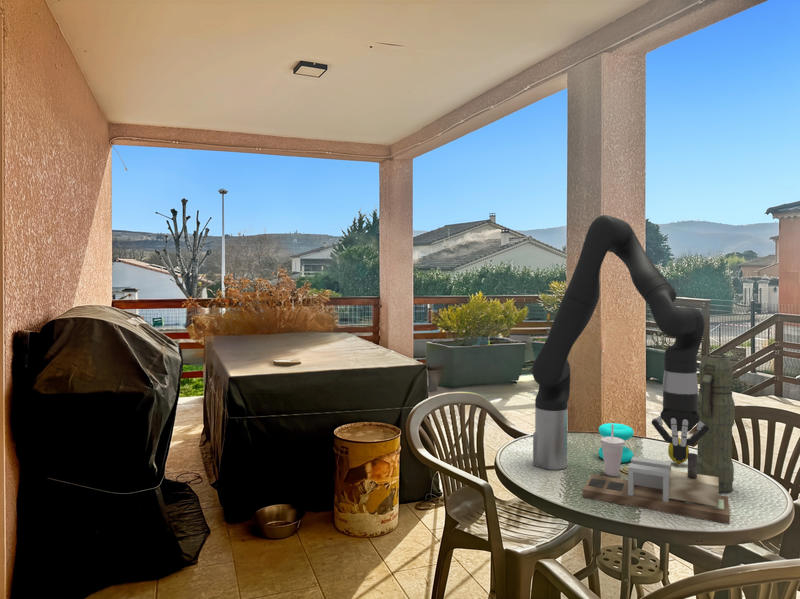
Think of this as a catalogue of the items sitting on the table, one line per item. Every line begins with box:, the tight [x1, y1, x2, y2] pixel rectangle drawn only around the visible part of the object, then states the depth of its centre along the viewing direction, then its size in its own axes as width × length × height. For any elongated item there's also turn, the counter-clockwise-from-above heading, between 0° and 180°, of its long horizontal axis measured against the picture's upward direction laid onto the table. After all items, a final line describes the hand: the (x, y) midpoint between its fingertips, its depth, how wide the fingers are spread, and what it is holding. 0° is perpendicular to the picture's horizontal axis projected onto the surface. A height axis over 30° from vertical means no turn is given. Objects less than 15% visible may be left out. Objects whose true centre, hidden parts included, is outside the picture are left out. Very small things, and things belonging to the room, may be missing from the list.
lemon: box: [667, 437, 690, 465], centre depth 163 cm, size 6×6×8 cm
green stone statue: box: [696, 353, 736, 494], centre depth 145 cm, size 9×12×35 cm
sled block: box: [669, 452, 720, 507], centre depth 133 cm, size 11×6×11 cm, turn 61°
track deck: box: [582, 473, 731, 525], centre depth 137 cm, size 32×12×2 cm, turn 61°
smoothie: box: [600, 424, 625, 477], centre depth 156 cm, size 6×6×14 cm
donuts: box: [598, 422, 635, 464], centre depth 168 cm, size 10×10×10 cm
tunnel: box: [627, 456, 672, 502], centre depth 137 cm, size 9×9×7 cm
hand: (679, 460), depth 134 cm, fingers closed
